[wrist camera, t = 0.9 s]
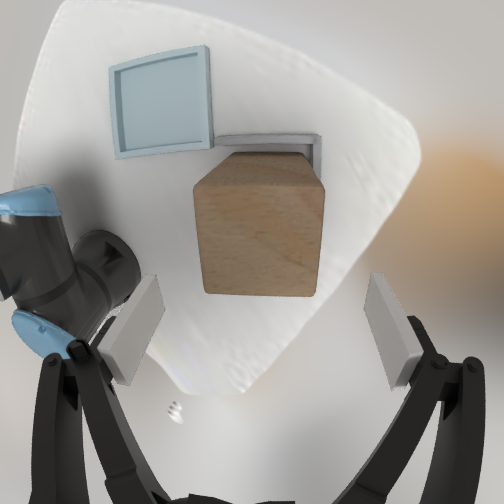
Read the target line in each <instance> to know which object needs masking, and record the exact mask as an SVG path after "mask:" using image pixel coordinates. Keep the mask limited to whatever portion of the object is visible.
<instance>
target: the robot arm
mask: <svg viewBox="0 0 504 504" xmlns="http://www.w3.org/2000/svg"><path fill="white" fill-rule="evenodd" d="M61 215H62V213H61V211H60V210H59V207H58V204H57V200H56V197H55V193H54V191H53V189H52V188H51V187H49V186H48V185H36V186H31V187H26V188H22V189H18V190H14V191H10V192H7V193H3V194H0V301H2V302H3V301H4V300H6V299H7V298H9V297H10V296H12V297H13V299H14V301H15V303H16V305H17V308H18V309H16V310H15V311H14V312H13V315H12V325H13V327H14V329H15V331H16V332H17V334H18V335H19V337H20V338H21V339H22V340H23V342H25V343H26V345H27V346H29V348H31V349H32V350H33V351H34V352H35V353H37V354H38V355H39V356H41V357H42V358H44V360H43V363H42V369H41V373H40V379H39V384H38V392H37V397H36V405H35V413H34V424H33V436H32V457H31V458H32V459H31V476H32V492H31V496H30V500H29V504H90V503H89V496H88V490H87V481H86V473H85V463H84V451H83V435H82V434H83V433H82V406H83V410H84V414H85V417H86V421H87V424H88V427H89V431H90V434H91V437H92V440H93V443H94V446H95V449H96V451H97V454H98V457H99V460H100V462H101V465H102V467H103V470H104V472H105V475H106V478H107V479H106V480H105V486H106V489H107V491H108V494H109V496H110V498H111V500H112V502H113V504H232V503H229V502H226V501H223V500H220V499H217V498H214V497H207V496H200V495H194V494H189V496H188V497H187V498H179V499H175V500H171V499H170V497H169V496H168V494H167V493H166V492H165V491H164V490H163V488H162V487H161V486H160V484H159V483H158V481H157V479H156V477H155V476H154V474H153V472H152V470H151V469H150V467H149V465H148V463H147V461H146V459H145V457H144V455H143V454H142V452H141V450H140V448H139V446H138V444H137V442H136V440H135V437H134V435H133V433H132V431H131V429H130V427H129V425H128V422H127V420H126V417H125V415H124V413H123V410H122V408H121V405H120V403H119V400H118V398H117V395H116V393H115V390H114V387H113V385H112V383H111V380H112V378H113V377H114V379H115V381H116V382H117V384H122V385H127V386H130V384H131V381H132V379H133V377H134V375H135V372H136V370H137V368H138V366H139V364H140V361H141V359H142V357H143V355H144V353H145V351H146V349H147V346H148V344H149V342H150V340H151V338H152V336H153V334H154V332H155V330H156V328H157V326H158V323H159V321H160V319H161V317H162V315H163V313H164V311H165V306H164V303H163V299H162V296H161V292H160V288H159V284H158V280H157V276H156V275H145V276H144V278H143V279H142V280H141V282H140V268H139V265H138V262H137V260H136V258H135V256H134V254H133V252H132V251H131V249H130V248H129V247H128V246H127V245H126V244H125V243H124V242H123V241H122V240H121V239H120V238H118V237H117V236H115V235H113V234H111V233H109V232H106V231H101V230H96V231H91V232H89V233H87V234H85V235H84V236H83V237H82V238H80V239H79V240H78V241H77V242H76V244H75V246H74V248H73V250H72V252H71V249H70V246H69V243H68V239H67V236H66V232H65V229H64V225H63V221H62V217H61ZM126 301H127V302H126ZM125 302H126V304H125V305H124V307H123V308H122V310H121V311H120V313H119V314H118V316H112V317H111V318H109V319H108V320H107V321H106V322H105V323H104V325H103V326H102V329H100V331H99V334H97V335H96V337H95V338H94V340H93V342H92V343H91V345H90V346H89V344H88V343H89V341H90V340H91V338H92V337H93V335H94V334H95V332H96V331H97V329H98V328H99V326H100V325H101V323H102V322H103V320H104V319H105V317H106V316H107V314H108V313H109V312H110V311H111V310H112V309H114V308H116V307H118V306H119V305H121V304H123V303H125ZM364 311H365V314H366V317H367V319H368V322H369V325H370V328H371V330H372V333H373V336H374V339H375V342H376V345H377V347H378V350H379V353H380V356H381V360H382V363H383V366H384V369H385V372H386V375H387V378H388V382H389V385H390V388H391V391H395V390H400V389H405V387H406V386H407V384H408V382H409V383H410V386H411V389H410V391H409V392H408V394H407V396H406V397H405V399H404V402H403V403H402V405H401V407H400V409H399V411H398V412H397V414H396V416H395V418H394V419H393V421H392V423H391V424H390V426H389V428H388V430H387V431H386V433H385V434H384V436H383V437H382V439H381V440H380V442H379V444H378V445H377V447H376V448H375V450H374V451H373V452H372V454H371V455H370V457H369V458H368V460H367V461H366V462H365V464H364V465H363V466H362V468H361V469H360V471H359V472H358V473H357V475H356V476H355V477H354V479H353V480H352V481H351V482H350V483H349V485H348V486H347V487H346V489H345V490H344V491H343V492H342V493H341V494H340V495H339V497H338V498H337V499H336V500H335V501H334V502H333V503H332V504H385V502H386V499H387V495H388V493H389V492H390V490H391V489H392V487H393V486H394V484H395V483H396V481H397V480H398V478H399V476H400V475H401V473H402V471H403V470H404V468H405V466H406V465H407V463H408V461H409V459H410V458H411V456H412V454H413V452H414V450H415V448H416V446H417V445H418V443H419V441H420V439H421V436H422V435H423V432H424V430H425V428H426V426H427V424H428V422H429V420H430V417H431V415H432V413H433V411H434V408H435V406H436V403H437V401H442V402H441V410H440V417H439V424H438V431H437V437H436V442H435V447H434V452H433V456H432V461H431V465H430V469H429V473H428V477H427V480H426V484H425V487H424V491H423V494H422V497H421V500H420V503H419V504H474V503H475V498H476V494H477V489H478V483H479V478H480V472H481V465H482V456H483V447H484V435H485V375H484V366H483V364H482V362H481V361H480V360H479V359H478V358H475V357H467V358H466V359H465V360H464V361H463V363H451V362H449V361H448V359H447V358H446V357H445V356H443V355H442V354H438V353H437V352H436V349H435V347H434V346H433V343H432V342H431V340H430V338H429V336H428V335H427V332H426V330H425V329H424V326H423V325H422V323H421V321H420V320H419V319H418V318H416V317H415V316H406V315H405V313H404V311H403V309H402V307H401V305H400V303H399V301H398V300H397V298H396V296H395V294H394V292H393V291H392V289H391V287H390V285H389V283H388V282H387V280H386V278H385V276H384V275H383V273H382V272H381V273H371V274H370V280H369V285H368V291H367V295H366V300H365V305H364ZM257 504H295V501H268V502H262V503H257Z"/></svg>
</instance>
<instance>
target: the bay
mask: <svg viewBox="0 0 504 504" xmlns="http://www.w3.org/2000/svg"><path fill="white" fill-rule="evenodd" d="M280 143H284V144H310V166H311V167H312V169H313V170H314V172H315V173H316V175H317V177H318V178H319V180H320V182H321V136H319V135H313V134H252V135H230V136H219V137H216V138H214V145H215V146H219V145H237V144H280Z"/></svg>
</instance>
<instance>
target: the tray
mask: <svg viewBox="0 0 504 504" xmlns="http://www.w3.org/2000/svg"><path fill="white" fill-rule="evenodd" d="M109 92H110V109H111V122H112V132H113V142H114V150H115V158H116V160H117V159H123V158H130V157H137V156H144V155H151V154H159V153H168V152H177V151H187V150H199V149H210V148H212V147H214V139H213V123H212V105H211V85H210V62H209V48H208V47H206V46H205V45H200V46H194V47H188V48H182V49H177V50H172V51H167V52H162V53H158V54H154V55H149V56H145V57H142V58H138V59H134V60H131V61H127V62H124V63H121V64H117V65H114V66H111V67H109Z"/></svg>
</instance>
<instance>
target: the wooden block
mask: <svg viewBox="0 0 504 504" xmlns="http://www.w3.org/2000/svg"><path fill="white" fill-rule="evenodd" d="M193 196H194V207H195V217H196V227H197V236H198V245H199V254H200V262H201V270H202V278H203V285H204V290H205V292H206V293H209V294H229V295H253V296H287V297H312V296H314V294H315V292H316V286H317V277H318V268H319V259H320V249H321V238H322V226H323V213H324V199H325V189H324V187H323V185H322V183H321V182H320V180H319V178H318V177H317V175H316V173H315V172H314V170H313V169H312V167H311V166H310V164H309V162H308V161H307V159H306V158H305V156H304V155H303V153H300V152H235V153H233V154H231V155H230V156H229V157H228V158H226V159H225V160H224V161H223V162H222V163H220V164H219V165H218V166H217V167H216V168H214V169H213V170H212V171H211V172H210V173H208V174H207V175H206V176H205V177H204V178H203V179H201V180H200V181H199V182H198V183H197V184H196V185H194V188H193Z"/></svg>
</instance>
